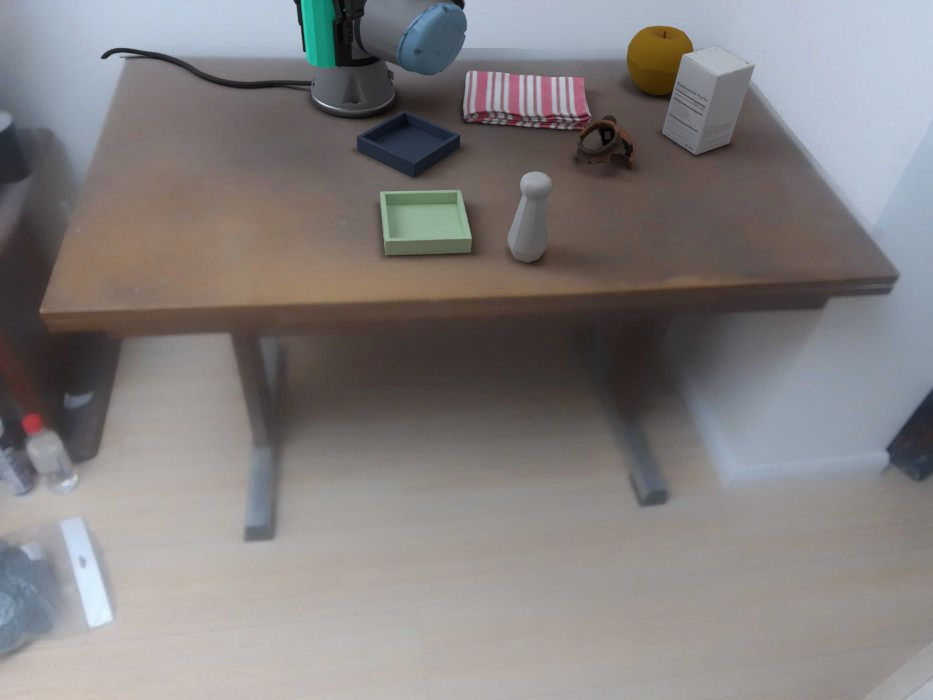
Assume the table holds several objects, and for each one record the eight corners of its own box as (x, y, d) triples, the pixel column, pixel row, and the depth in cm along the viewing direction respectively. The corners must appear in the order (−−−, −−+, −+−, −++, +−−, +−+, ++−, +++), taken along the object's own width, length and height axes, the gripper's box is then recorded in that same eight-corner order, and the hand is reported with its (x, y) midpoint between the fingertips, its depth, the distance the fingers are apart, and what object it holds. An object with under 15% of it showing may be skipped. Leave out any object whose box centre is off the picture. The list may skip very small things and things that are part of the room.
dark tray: (357, 150, 129) (356, 136, 127) (404, 123, 136) (404, 110, 134) (414, 177, 124) (414, 163, 122) (459, 148, 131) (460, 134, 130)
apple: (610, 90, 151) (622, 32, 143) (635, 67, 159) (648, 11, 151) (671, 110, 146) (687, 51, 138) (694, 85, 154) (710, 29, 146)
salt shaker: (504, 241, 114) (513, 164, 104) (541, 241, 114) (554, 165, 105) (508, 266, 109) (519, 188, 100) (548, 266, 110) (562, 189, 101)
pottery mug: (639, 181, 128) (626, 147, 122) (584, 194, 132) (569, 162, 126) (637, 130, 134) (625, 95, 128) (585, 144, 138) (570, 110, 132)
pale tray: (385, 255, 109) (385, 241, 107) (380, 205, 118) (380, 191, 116) (470, 252, 111) (472, 238, 109) (459, 203, 120) (460, 189, 118)
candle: (355, 54, 113) (350, -31, 105) (336, 71, 109) (330, -16, 101) (318, 46, 115) (311, -39, 106) (299, 62, 110) (289, -24, 102)
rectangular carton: (695, 122, 144) (718, 43, 133) (730, 144, 138) (757, 64, 128) (659, 133, 140) (681, 52, 129) (694, 156, 135) (719, 74, 124)
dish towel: (590, 132, 138) (593, 114, 136) (462, 123, 137) (463, 105, 135) (581, 88, 150) (584, 71, 148) (463, 80, 150) (464, 62, 147)
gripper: (238, -135, 97) (263, 44, 113) (347, -100, 89) (357, 86, 106) (282, -146, 101) (300, 29, 118) (390, -113, 94) (393, 68, 110)
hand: (327, 56), depth 112 cm, fingers closed on candle, 6 cm apart
